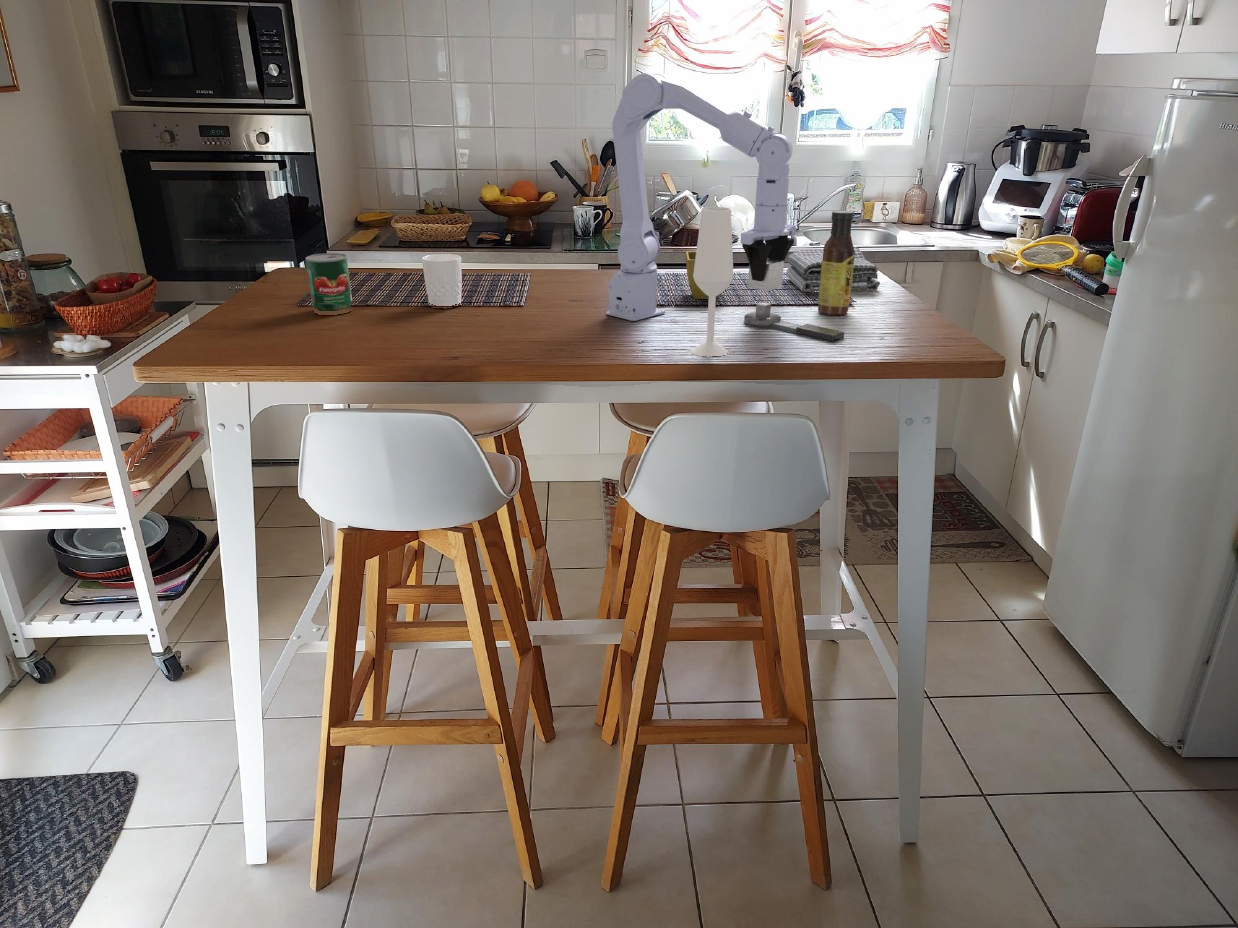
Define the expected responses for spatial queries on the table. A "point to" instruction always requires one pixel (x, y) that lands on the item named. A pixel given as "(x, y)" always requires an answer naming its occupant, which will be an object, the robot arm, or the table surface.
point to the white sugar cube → (769, 276)
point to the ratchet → (789, 325)
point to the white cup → (443, 279)
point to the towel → (809, 271)
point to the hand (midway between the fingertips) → (765, 278)
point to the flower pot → (694, 288)
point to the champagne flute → (713, 267)
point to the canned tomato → (329, 281)
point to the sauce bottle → (837, 266)
